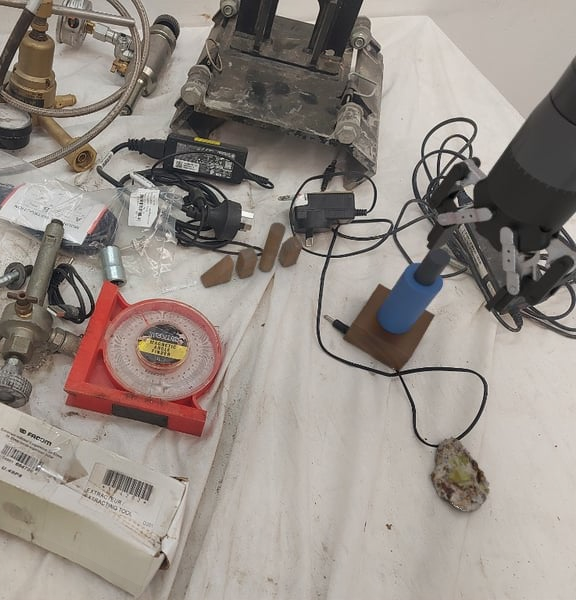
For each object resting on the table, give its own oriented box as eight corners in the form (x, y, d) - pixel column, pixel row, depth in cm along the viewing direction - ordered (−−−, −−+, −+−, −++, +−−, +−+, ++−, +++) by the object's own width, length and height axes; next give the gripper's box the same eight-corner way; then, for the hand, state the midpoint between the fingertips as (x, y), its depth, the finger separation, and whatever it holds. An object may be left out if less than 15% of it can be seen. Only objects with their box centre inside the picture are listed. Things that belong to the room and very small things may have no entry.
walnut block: (422, 331, 97) (435, 315, 93) (398, 372, 92) (411, 357, 88) (368, 300, 100) (379, 283, 96) (342, 338, 95) (352, 322, 91)
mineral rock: (507, 511, 78) (459, 504, 76) (483, 519, 82) (437, 513, 80) (482, 436, 85) (438, 428, 83) (461, 447, 88) (418, 439, 86)
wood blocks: (289, 254, 104) (304, 215, 96) (295, 265, 103) (311, 226, 95) (159, 287, 98) (163, 249, 90) (164, 299, 97) (168, 261, 88)
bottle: (419, 325, 92) (468, 263, 78) (392, 339, 90) (438, 278, 77) (395, 299, 94) (440, 235, 81) (369, 312, 92) (410, 248, 79)
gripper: (464, 115, 49) (390, 240, 62) (603, 231, 42) (487, 343, 55) (524, 93, 51) (441, 218, 64) (664, 200, 44) (539, 314, 58)
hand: (462, 276), depth 60 cm, fingers open, 8 cm apart
